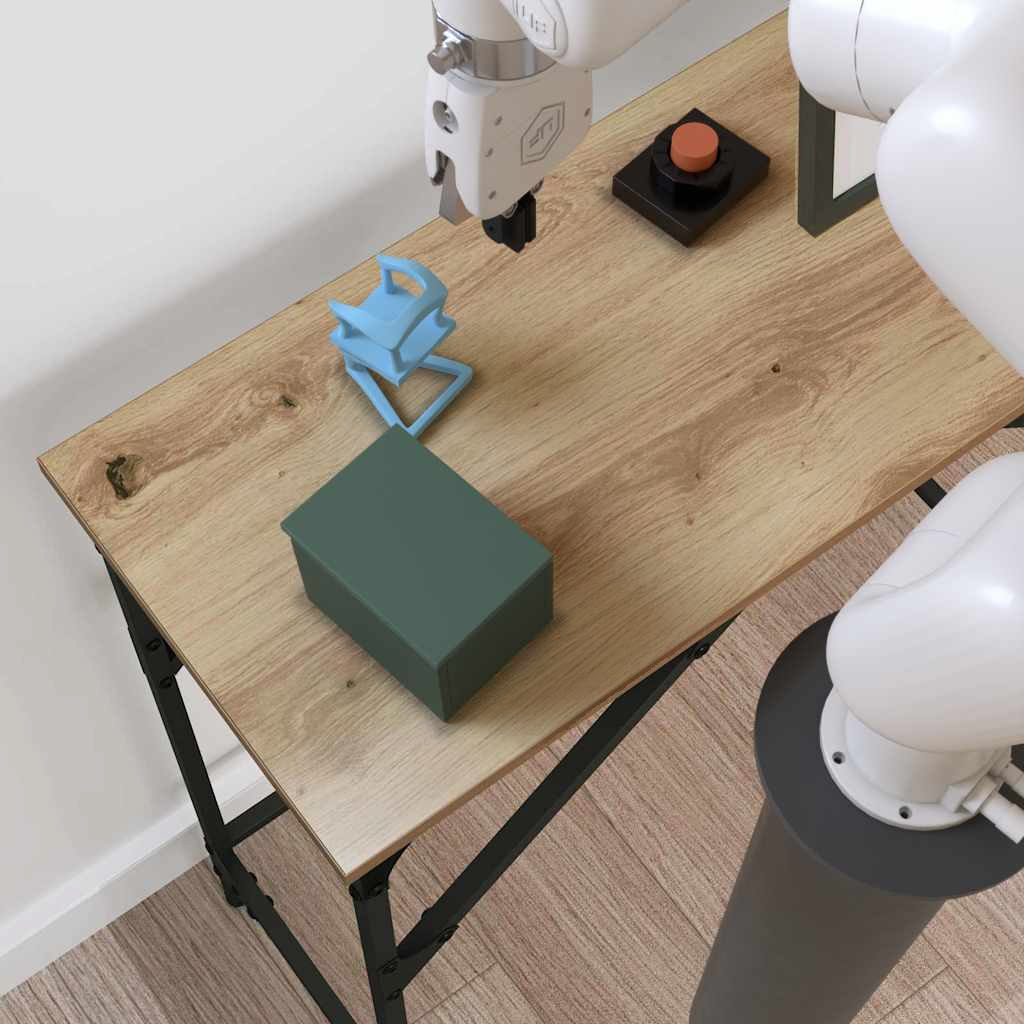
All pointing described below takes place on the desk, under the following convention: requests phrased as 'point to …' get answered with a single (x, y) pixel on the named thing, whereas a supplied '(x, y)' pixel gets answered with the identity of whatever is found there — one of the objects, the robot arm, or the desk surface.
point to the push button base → (689, 182)
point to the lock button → (694, 147)
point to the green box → (428, 684)
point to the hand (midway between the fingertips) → (509, 234)
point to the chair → (398, 338)
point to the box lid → (417, 544)
